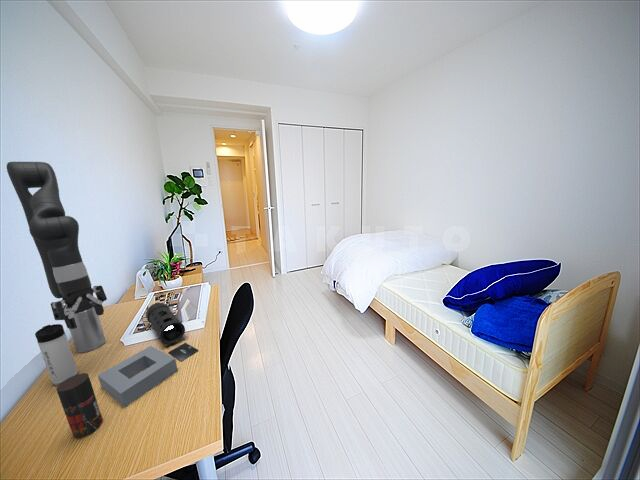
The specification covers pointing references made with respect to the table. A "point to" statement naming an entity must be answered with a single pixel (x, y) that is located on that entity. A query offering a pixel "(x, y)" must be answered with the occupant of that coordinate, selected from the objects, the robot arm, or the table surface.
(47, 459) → the table surface
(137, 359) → the block
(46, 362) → the travel mug
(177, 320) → the muzzle brake
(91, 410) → the deodorant
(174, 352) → the solid state drive
